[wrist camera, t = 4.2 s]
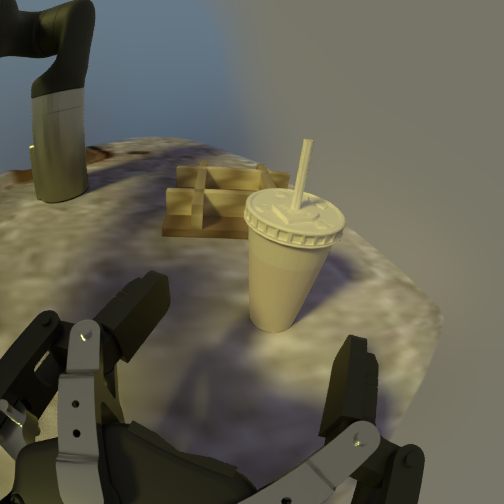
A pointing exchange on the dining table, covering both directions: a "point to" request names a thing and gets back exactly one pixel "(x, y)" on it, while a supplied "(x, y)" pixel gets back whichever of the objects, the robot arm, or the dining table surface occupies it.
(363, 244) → the dining table surface
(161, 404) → the dining table surface
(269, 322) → the smoothie
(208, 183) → the wooden grid tray
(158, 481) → the robot arm
